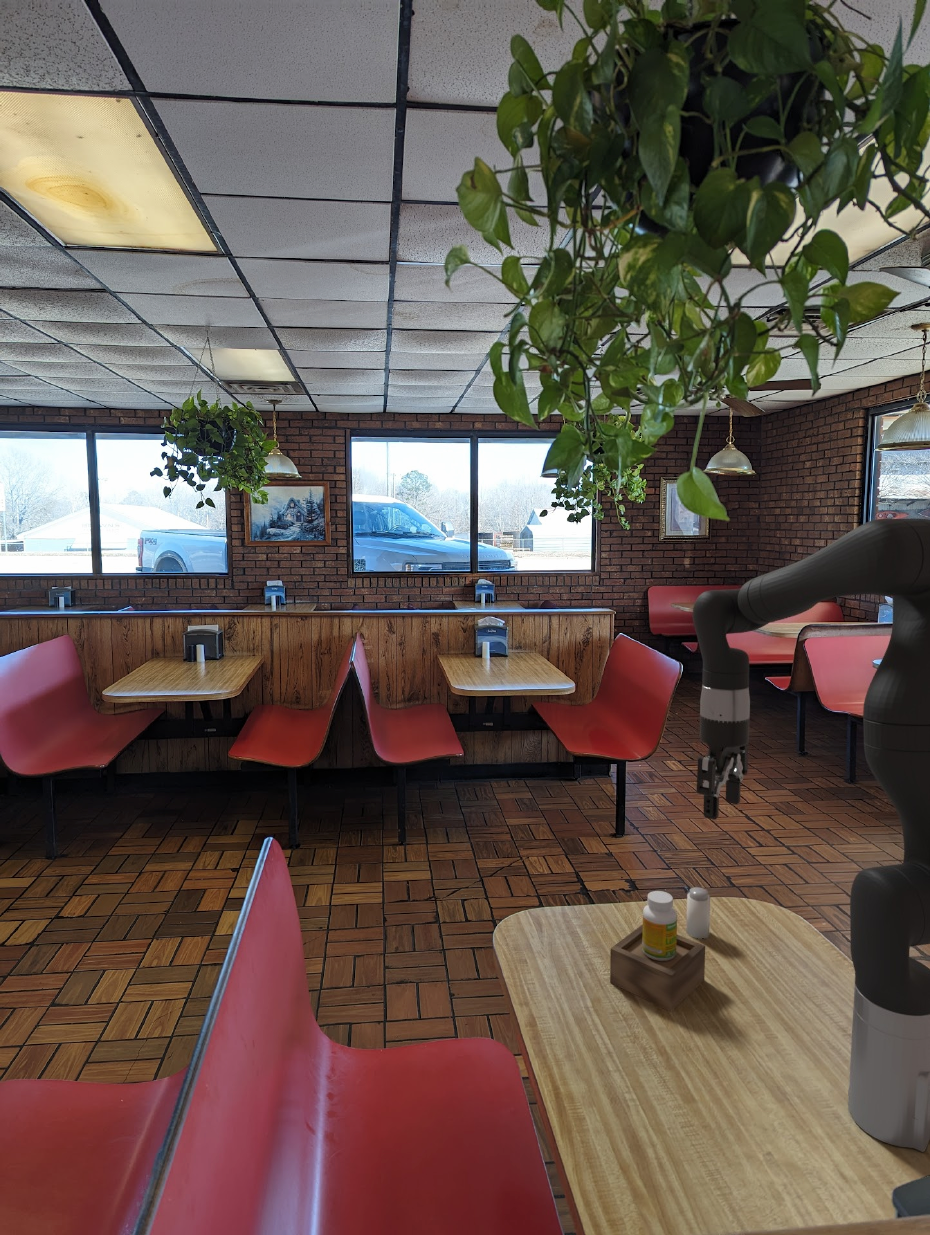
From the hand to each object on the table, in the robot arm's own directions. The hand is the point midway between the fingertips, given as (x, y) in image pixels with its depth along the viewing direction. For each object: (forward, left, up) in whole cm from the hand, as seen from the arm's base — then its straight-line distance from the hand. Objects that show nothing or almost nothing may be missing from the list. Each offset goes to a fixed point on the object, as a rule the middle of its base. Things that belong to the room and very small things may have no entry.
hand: (722, 810), depth 124 cm
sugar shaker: (+8, -8, -28) cm, 30 cm away
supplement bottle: (+6, +9, -23) cm, 26 cm away
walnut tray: (+6, +10, -28) cm, 30 cm away
